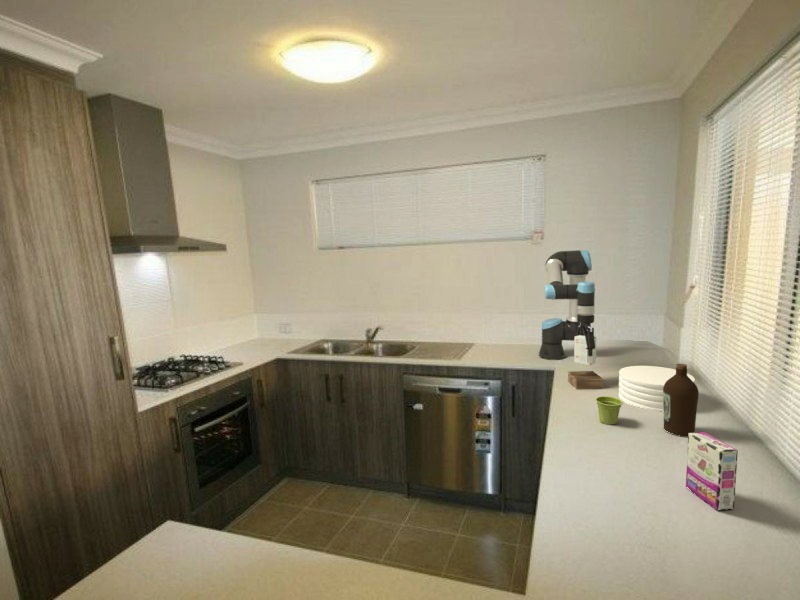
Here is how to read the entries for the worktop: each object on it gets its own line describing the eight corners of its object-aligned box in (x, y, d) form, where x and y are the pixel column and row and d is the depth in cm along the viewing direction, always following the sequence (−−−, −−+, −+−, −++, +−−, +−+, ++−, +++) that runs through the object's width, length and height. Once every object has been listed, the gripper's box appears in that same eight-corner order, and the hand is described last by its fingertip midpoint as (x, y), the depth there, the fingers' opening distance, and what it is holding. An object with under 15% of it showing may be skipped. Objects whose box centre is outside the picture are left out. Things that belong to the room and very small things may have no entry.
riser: (567, 381, 211) (567, 371, 211) (592, 380, 211) (592, 371, 210) (576, 389, 199) (576, 379, 198) (603, 389, 198) (603, 378, 198)
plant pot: (619, 418, 165) (620, 397, 164) (624, 428, 157) (624, 406, 156) (594, 416, 169) (594, 395, 167) (596, 425, 160) (597, 403, 159)
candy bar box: (735, 510, 108) (739, 449, 106) (717, 511, 107) (721, 451, 105) (701, 485, 119) (704, 430, 117) (684, 487, 118) (687, 432, 116)
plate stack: (698, 397, 183) (700, 372, 182) (686, 418, 163) (688, 390, 162) (628, 385, 202) (629, 362, 201) (610, 402, 182) (610, 377, 181)
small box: (596, 363, 202) (596, 336, 201) (590, 365, 198) (590, 338, 197) (580, 360, 208) (580, 334, 207) (573, 362, 204) (574, 336, 203)
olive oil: (692, 427, 155) (695, 361, 152) (700, 439, 146) (704, 369, 142) (658, 423, 159) (661, 359, 156) (664, 435, 149) (667, 367, 146)
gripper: (569, 310, 212) (569, 353, 214) (586, 318, 189) (586, 366, 192) (584, 310, 211) (584, 353, 214) (603, 317, 189) (602, 365, 192)
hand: (585, 359), depth 203 cm, fingers closed on small box, 10 cm apart
